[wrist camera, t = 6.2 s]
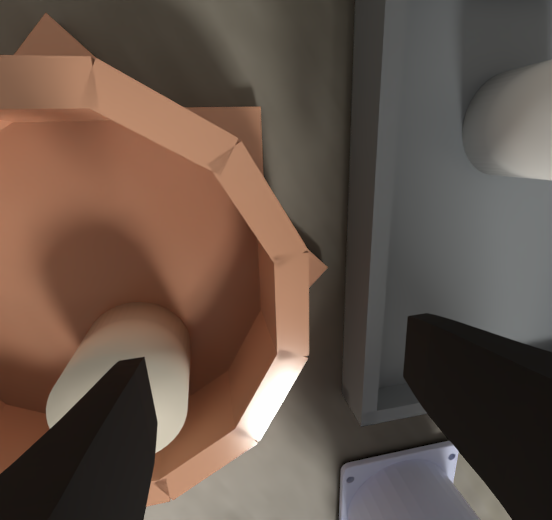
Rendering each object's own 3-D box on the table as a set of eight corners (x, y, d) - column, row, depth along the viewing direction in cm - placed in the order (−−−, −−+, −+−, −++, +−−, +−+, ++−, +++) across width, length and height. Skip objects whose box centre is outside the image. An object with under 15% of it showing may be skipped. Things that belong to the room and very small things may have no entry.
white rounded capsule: (536, 173, 16) (635, 179, 13) (456, 177, 16) (536, 186, 12) (557, 70, 15) (675, 44, 11) (470, 69, 14) (565, 41, 10)
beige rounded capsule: (195, 381, 16) (193, 449, 12) (96, 396, 15) (62, 474, 12) (185, 296, 15) (180, 345, 11) (75, 308, 14) (30, 365, 10)
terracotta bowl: (320, 422, 20) (353, 495, 15) (-75, 497, 16) (-172, 620, 12) (324, 29, 14) (380, -25, 9) (-312, 9, 10) (-687, -94, 6)
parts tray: (546, 357, 22) (587, 381, 20) (341, 393, 19) (360, 426, 17) (640, -17, 16) (717, -46, 13) (356, -37, 13) (390, -78, 11)
